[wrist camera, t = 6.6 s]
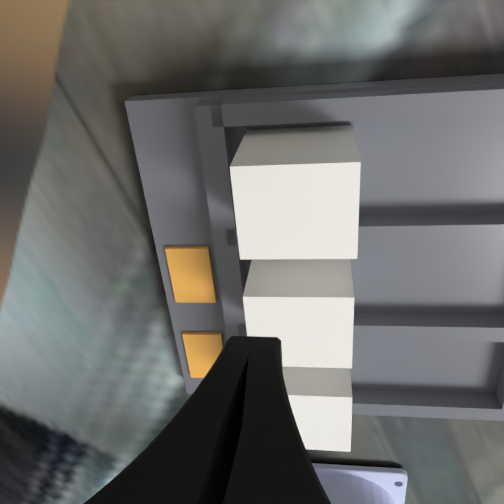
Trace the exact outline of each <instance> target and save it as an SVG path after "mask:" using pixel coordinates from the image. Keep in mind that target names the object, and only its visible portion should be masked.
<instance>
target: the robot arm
mask: <svg viewBox="0 0 504 504" xmlns="http://www.w3.org/2000/svg"><path fill="white" fill-rule="evenodd" d="M407 480H408V478H407V472H406V471H405V470H403V469H400V468H386V467H369V466H352V465H335V464H318V463H311V460H310V458H309V456H308V453H307V451H306V448H305V446H304V443H303V441H302V438H301V435H300V433H299V430H298V427H297V424H296V421H295V418H294V415H293V412H292V408H291V405H290V402H289V398H288V394H287V390H286V386H285V382H284V377H283V369H282V348H281V340H280V339H279V338H277V337H256V336H231V337H230V338H229V339H228V340H227V342H226V344H225V346H224V347H223V349H222V351H221V352H220V354H219V356H218V357H217V359H216V361H215V362H214V364H213V365H212V367H211V368H210V370H209V371H208V373H207V374H206V376H205V377H204V378H203V380H202V381H201V383H200V384H199V385H198V387H197V388H196V390H195V391H194V393H193V394H192V395H191V397H190V398H189V399H188V400H187V402H186V403H185V404H184V405H183V407H182V408H181V409H180V410H179V412H178V413H177V414H176V415H175V417H174V418H173V419H172V420H171V421H170V423H169V424H168V425H167V426H166V427H165V428H164V429H163V431H162V432H161V433H160V434H159V435H158V436H157V437H156V438H155V439H154V440H153V441H152V442H151V443H150V444H149V446H148V447H147V448H146V449H145V450H144V451H143V452H142V453H141V454H140V455H138V456H137V457H136V458H135V459H134V460H133V461H132V462H131V463H130V464H129V465H128V466H127V467H126V468H125V469H124V470H123V471H122V472H121V473H120V474H118V475H117V476H116V477H115V478H114V479H113V480H112V481H110V482H109V483H108V484H107V485H106V486H104V487H103V488H102V489H101V490H100V491H98V492H97V493H96V494H95V495H94V496H92V497H91V498H90V499H89V500H88V501H86V502H85V503H84V504H404V502H405V494H406V487H407Z"/></svg>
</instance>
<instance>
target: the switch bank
mask: <svg viewBox="0 0 504 504" xmlns="http://www.w3.org/2000/svg"><path fill="white" fill-rule="evenodd" d="M125 106H126V111H127V115H128V120H129V125H130V129H131V134H132V139H133V143H134V148H135V153H136V157H137V162H138V167H139V172H140V176H141V181H142V186H143V190H144V195H145V200H146V204H147V209H148V214H149V218H150V223H151V228H152V232H153V237H154V242H155V246H156V251H157V256H158V260H159V265H160V270H161V274H162V279H163V284H164V288H165V293H166V298H167V303H168V307H169V312H170V317H171V321H172V326H173V331H174V335H175V340H176V345H177V349H178V354H179V359H180V363H181V368H182V373H183V377H184V382H185V387H186V391H187V394H193V393H194V391H195V390H196V388H197V387H198V385H199V384H200V383H201V381H202V380H203V378H204V377H205V376H206V374H207V373H208V371H209V370H210V368H211V367H212V365H213V364H214V362H215V361H216V359H217V357H218V356H219V354H220V352H221V351H222V349H223V347H224V346H225V344H226V342H227V340H228V339H229V338H230V337H231V336H247V330H246V321H245V313H244V304H243V294H244V289H245V285H246V281H247V277H248V273H249V269H250V264H251V260H252V259H244V260H240V255H239V246H238V237H237V228H236V219H235V210H234V201H233V192H232V183H231V174H230V165H231V163H232V161H233V158H234V156H235V154H236V152H237V150H238V148H239V146H240V143H241V141H242V139H243V137H244V135H245V133H246V131H247V130H254V129H276V128H297V127H318V126H340V125H353V127H354V132H355V137H356V142H357V147H358V151H359V156H360V161H361V169H360V197H359V225H358V254H357V259H350V260H351V270H352V279H353V289H354V324H353V354H352V368H350V372H351V386H352V414H355V415H378V416H401V417H424V418H448V419H471V420H494V421H504V73H503V74H486V75H469V76H453V77H436V78H419V79H402V80H386V81H369V82H352V83H336V84H319V85H302V86H286V87H269V88H252V89H236V90H219V91H202V92H186V93H169V94H152V95H136V96H132V97H130V98H129V99H127V100H126V101H125Z"/></svg>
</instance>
